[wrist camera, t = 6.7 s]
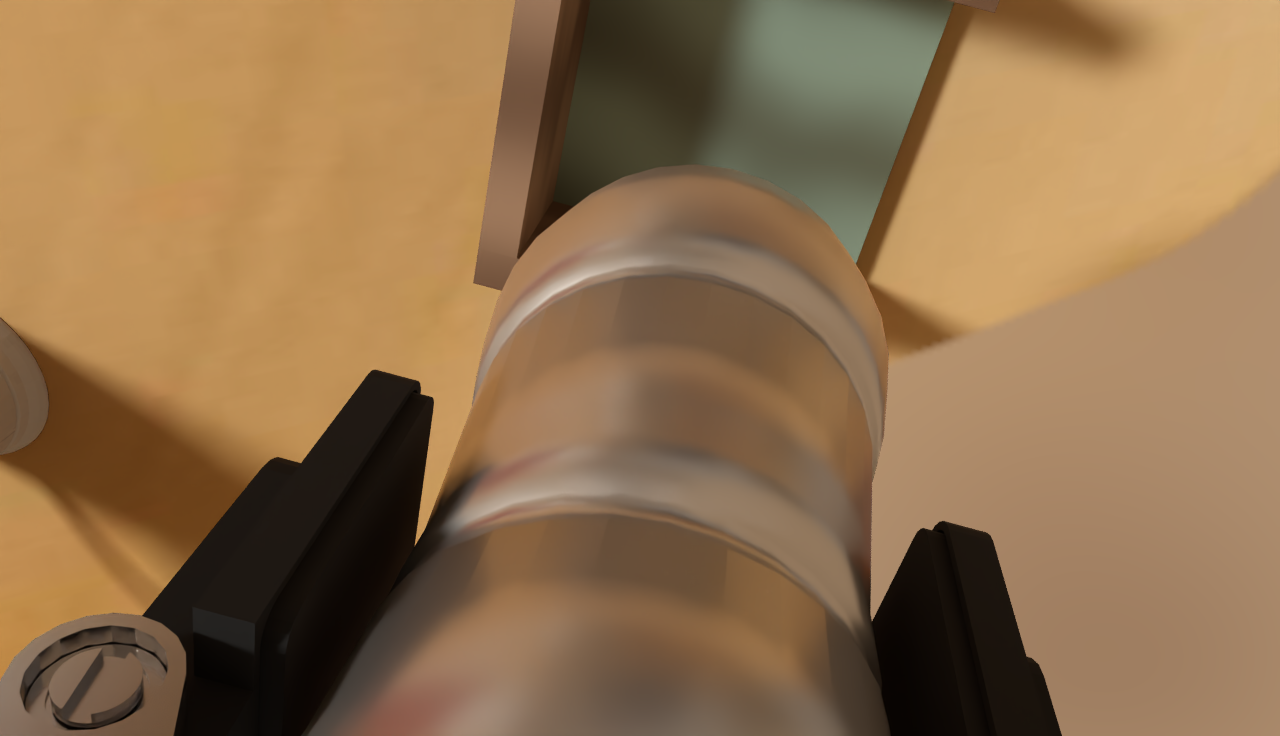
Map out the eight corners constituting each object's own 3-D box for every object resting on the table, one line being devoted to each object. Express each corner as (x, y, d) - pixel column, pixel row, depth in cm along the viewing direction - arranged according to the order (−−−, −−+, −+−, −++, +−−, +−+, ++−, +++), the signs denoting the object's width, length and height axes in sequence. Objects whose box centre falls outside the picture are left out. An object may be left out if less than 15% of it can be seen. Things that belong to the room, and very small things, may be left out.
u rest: (584, -164, 28) (539, -163, 23) (972, -62, 28) (1014, -38, 23) (519, 215, 35) (473, 283, 29) (837, 300, 35) (846, 382, 29)
